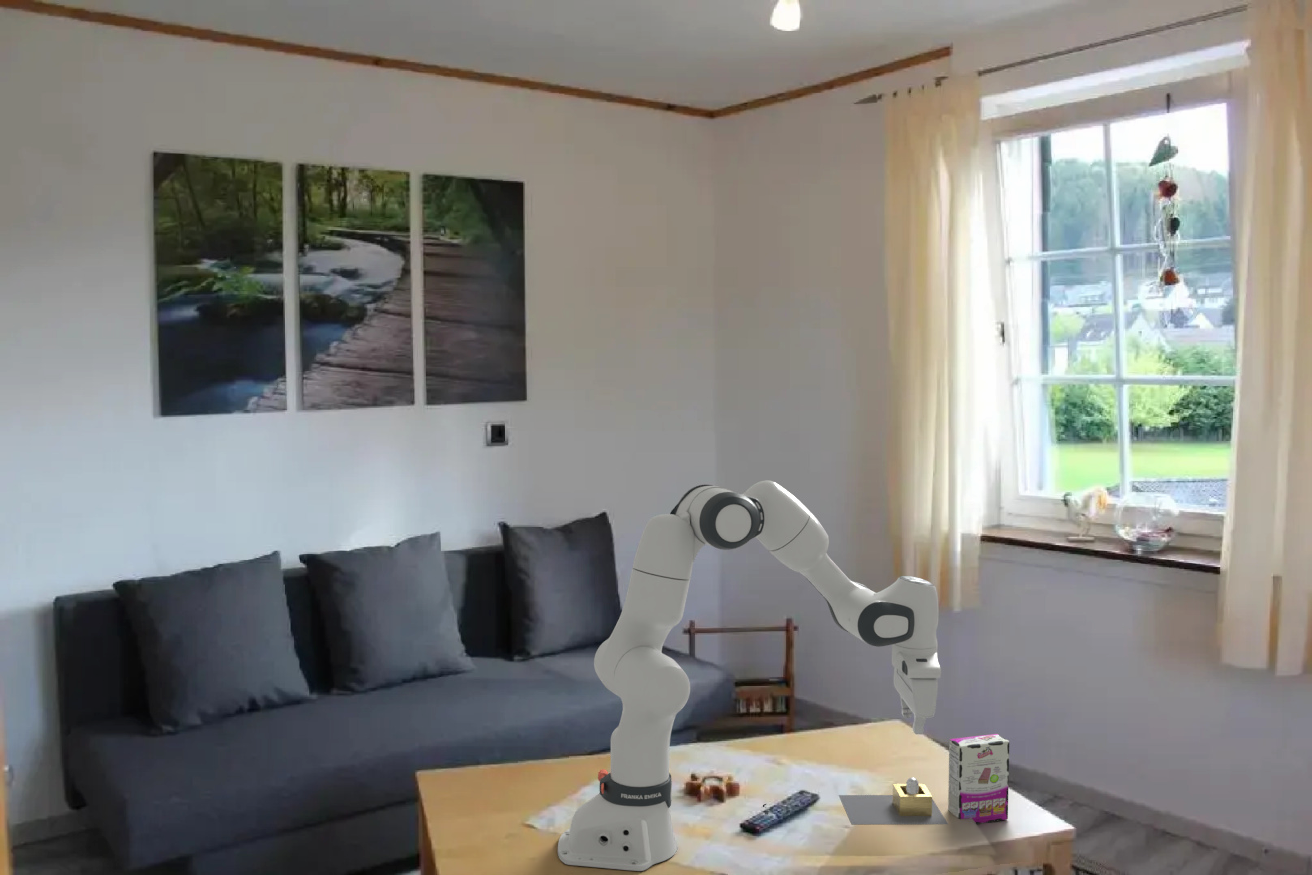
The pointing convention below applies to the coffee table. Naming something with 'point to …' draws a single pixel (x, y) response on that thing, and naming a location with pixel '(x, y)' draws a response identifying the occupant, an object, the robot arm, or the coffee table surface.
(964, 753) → the candy bar box
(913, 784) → the steel post
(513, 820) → the coffee table surface
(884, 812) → the slate mat
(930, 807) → the brass collar
